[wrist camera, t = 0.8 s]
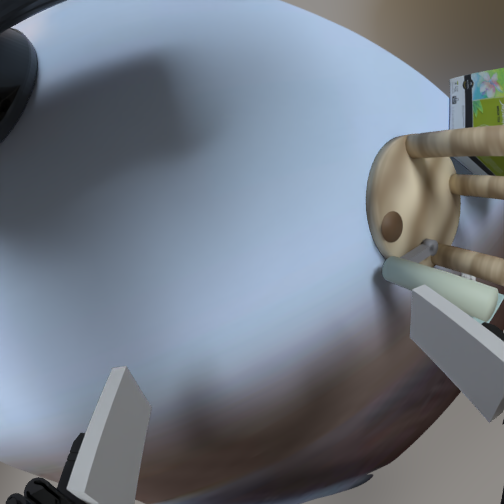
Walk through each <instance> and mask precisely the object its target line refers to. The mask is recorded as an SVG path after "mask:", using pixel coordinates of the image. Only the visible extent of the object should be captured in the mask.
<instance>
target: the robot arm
mask: <svg viewBox="0 0 504 504" xmlns="http://www.w3.org/2000/svg"><path fill="white" fill-rule="evenodd" d="M64 1H67V0H0V143H1V142H2V141H3V140H4V138H5V137H6V136H7V135H8V134H9V132H10V131H11V130H12V128H13V127H14V125H15V124H16V122H17V121H18V119H19V117H20V116H21V114H22V112H23V110H24V108H25V106H26V104H27V102H28V100H29V97H30V95H31V92H32V89H33V86H34V82H35V78H36V73H37V55H36V51H35V49H34V47H33V45H32V43H31V42H30V41H29V40H28V38H27V37H26V36H25V35H24V34H23V33H22V32H20V31H19V30H16V29H13V28H11V27H12V26H14V25H16V24H18V23H20V22H21V21H23V20H25V19H27V18H29V17H31V16H33V15H35V14H37V13H39V12H41V11H43V10H46V9H48V8H50V7H52V6H55V5H57V4H59V3H62V2H64ZM410 338H411V339H412V340H413V341H414V342H415V343H416V344H417V345H418V346H419V347H420V348H421V349H422V350H423V351H424V352H425V353H426V354H427V355H428V356H429V357H430V358H431V359H432V360H433V361H434V363H435V364H436V365H437V366H438V367H439V368H440V369H441V370H442V371H443V372H444V373H445V374H446V375H447V376H448V377H449V378H450V379H451V381H452V382H453V383H454V384H455V385H456V386H457V387H458V388H459V389H460V390H461V391H462V392H463V393H464V394H465V396H466V397H467V398H468V399H469V400H470V401H471V402H472V404H473V405H474V406H475V407H476V408H477V409H478V410H479V411H480V412H481V414H482V415H483V416H484V417H485V418H486V419H487V421H488V422H491V421H492V420H494V419H495V418H496V417H497V416H499V415H500V414H501V413H502V412H503V410H504V333H503V331H502V330H500V329H499V328H498V327H496V326H495V325H492V324H489V323H486V322H484V323H482V324H480V323H479V322H477V321H476V320H475V319H473V318H472V317H470V316H469V315H468V314H466V313H465V312H464V311H462V310H461V309H459V308H458V307H457V306H455V305H454V304H452V303H451V302H450V301H448V300H447V299H445V298H444V297H442V296H441V295H439V294H438V293H437V292H435V291H434V290H432V289H431V288H429V287H428V286H426V285H425V284H424V285H422V286H419V287H417V288H414V289H412V308H411V328H410ZM151 409H152V407H151V405H150V404H149V402H148V401H147V399H146V397H145V396H144V394H143V393H142V391H141V389H140V388H139V386H138V385H137V383H136V381H135V380H134V378H133V376H132V375H131V373H130V371H129V369H128V368H127V366H122V367H115V368H112V370H111V372H110V375H109V377H108V379H107V382H106V384H105V386H104V389H103V391H102V393H101V396H100V398H99V401H98V403H97V405H96V408H95V410H94V413H93V415H92V418H91V420H90V423H89V426H88V428H87V431H86V433H80V435H79V436H78V437H77V438H76V440H75V441H74V442H73V445H72V447H71V450H70V454H69V455H68V458H67V460H68V461H66V464H65V466H64V469H63V472H62V475H61V478H60V481H59V484H58V487H57V489H56V488H55V487H54V486H52V485H51V484H50V483H49V482H48V481H46V480H45V479H43V478H39V477H38V478H34V479H32V480H31V481H29V482H28V484H27V485H26V487H25V490H24V496H22V495H21V494H19V493H15V494H12V495H11V496H10V497H9V498H8V499H7V501H6V504H134V502H135V496H136V489H137V483H138V477H139V471H140V465H141V460H142V454H143V449H144V443H145V438H146V433H147V428H148V423H149V419H150V414H151ZM503 424H504V420H503ZM501 504H504V488H503V494H502V499H501Z"/></svg>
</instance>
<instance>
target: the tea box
mask: <svg viewBox="0 0 504 504" xmlns="http://www.w3.org/2000/svg"><path fill="white" fill-rule="evenodd" d="M449 81H450V129H449V130H451V129H461V128H471V127H483V126H497V125H504V68H500V69H495V70H489V71H484V72H478V73H474V74H469V75H465V76H460V77H456V78H453V79H450V80H449ZM454 158H455V159H456V160H457V161H459V162H460V163H461V164H462V165H463V166H465V167H466V168H467V169H468V170H469V171H471V172H472V173H473V174H477V175H491V176H504V156H463V157H454Z"/></svg>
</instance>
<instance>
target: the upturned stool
mask: <svg viewBox="0 0 504 504" xmlns="http://www.w3.org/2000/svg"><path fill="white" fill-rule="evenodd" d="M463 156H504V125H497V126H483V127H471V128H461V129H451V130H443V131H435V132H427V133H420V134H410V135H403V136H399V137H395V138H393V139H391V140H390V141H388V142H387V143H386V144H385V145H384V146H383V147H382V148H381V149H380V151H379V152H378V154H377V155H376V157H375V159H374V162H373V164H372V167H371V170H370V173H369V177H368V182H367V190H366V211H367V219H368V224H369V228H370V232H371V235H372V238H373V240H374V242H375V244H376V246H377V248H378V249H379V251H380V252H381V254H382V255H383V256H384V257H385V258H386V259H388V258H389V257H391V256H396V257H399V258H400V257H401V256H403V255H405V254H406V253H408V252H410V251H411V250H413V249H414V248H416V247H418V246H419V245H421V244H422V242H423V240H424V239H426V238H427V239H432V240H436V241H437V242H438V251H437V253H436V255H434V256H431V255H430V256H429V257H427V258H426V259H424V260H423V261H421V262H420V263H419V264H423V265H426V266H429V267H434V266H435V265H438V266H442V267H445V268H448V269H452V270H455V271H458V272H461V273H465V274H468V275H471V276H474V277H477V278H480V279H484V280H487V281H490V282H493V283H496V284H499V285H502V286H504V259H502V258H498V257H494V256H490V255H486V254H482V253H478V252H474V251H470V250H466V249H462V248H458V247H454V246H451V244H452V242H453V240H454V237H455V235H456V231H457V228H458V223H459V217H460V205H461V202H460V195H462V196H474V197H484V198H493V199H502V200H504V176H491V175H464V174H456V171H455V168H454V165H453V163H452V161H451V159H450V157H463Z"/></svg>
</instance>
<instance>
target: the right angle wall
mask: <svg viewBox="0 0 504 504" xmlns="http://www.w3.org/2000/svg"><path fill="white" fill-rule="evenodd" d="M461 277H464V278H467V279H470V280H473V281H475V277H474V276H471V275H468V274H465V273H462V274H461ZM503 299H504V295H502V294H499V293H498V301H497V305H496V308H495V311H494V313H493V315H492V317H493V316H494V314H495V312H496V311H497V309H498V307H499V306H500V304H501V302H502V301H503ZM469 316H470V317H472V318H473V319H475V320H476V321H477V322H479V323H480V324H482V323H484V322H485V321H482V320H480V319H478V318H475V317H473V316H471V315H469ZM492 317H491V318H490V319H489V321H487V322H486V323H489V322H490V320H491V319H492Z"/></svg>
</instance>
